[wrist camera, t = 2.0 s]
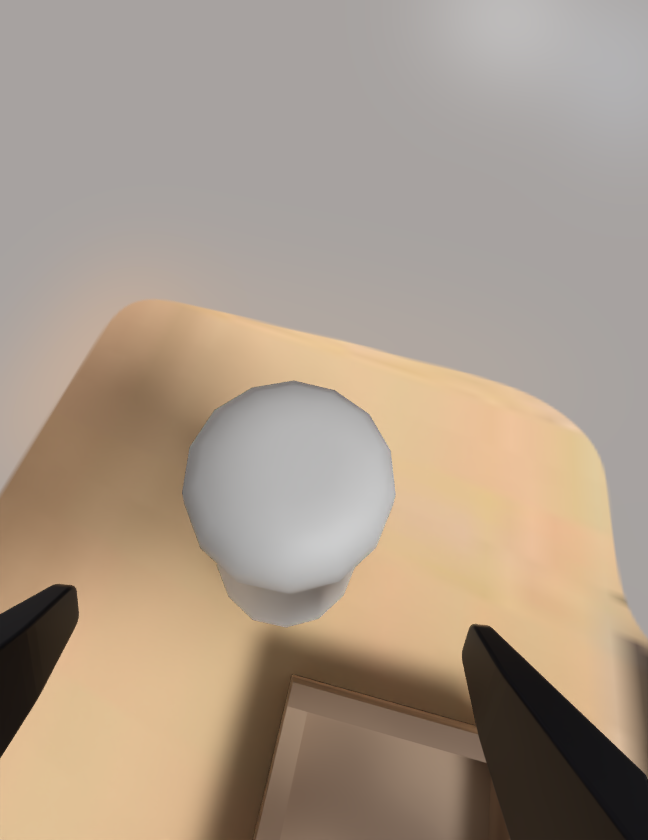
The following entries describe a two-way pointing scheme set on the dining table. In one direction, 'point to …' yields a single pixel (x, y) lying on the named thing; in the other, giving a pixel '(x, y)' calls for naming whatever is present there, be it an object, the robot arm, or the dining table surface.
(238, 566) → the salt shaker
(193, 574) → the dining table surface
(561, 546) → the dining table surface
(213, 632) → the dining table surface
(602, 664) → the dining table surface
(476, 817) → the walnut socket
